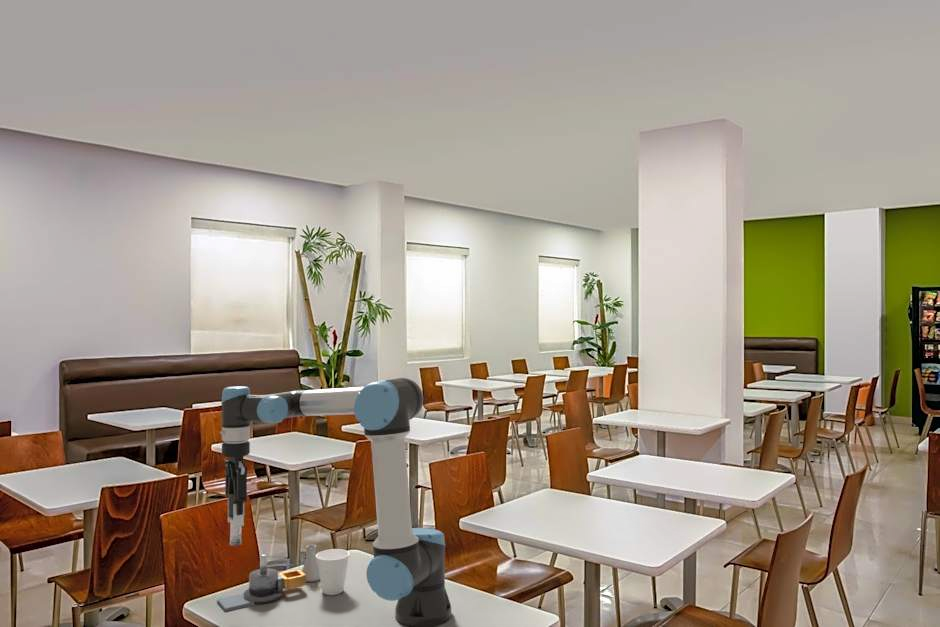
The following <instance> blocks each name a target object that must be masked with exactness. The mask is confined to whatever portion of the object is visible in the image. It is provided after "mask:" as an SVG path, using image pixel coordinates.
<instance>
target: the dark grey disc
mask: <svg viewBox="0 0 940 627" xmlns="http://www.w3.org/2000/svg"><path fill="white" fill-rule="evenodd" d="M243 593H244V598H245V599H246V600H248V601H254V605H267V604H272V603H275V602H278V601H279V600H281V599H282V598H283V597H284V589H283V588H282V589H278V590H277V591H276V592H275V593H273V594H270V595H266V596H254V595H251V594H250V593H249V588H248V589H246V590H245V591H244V592H243Z"/></svg>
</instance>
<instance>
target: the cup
mask: <svg viewBox="0 0 940 627" xmlns="http://www.w3.org/2000/svg"><path fill="white" fill-rule="evenodd" d="M350 555H351V553H350V551H349V550H346V549H339V548H332V549H331V548H330V549H325V550H322V551H319V552H317V553H316V558H317V563H318V569H319V574H320V580H319V581H320V587H321V592H322V593H323V594H324V595H327V596H337V595H339V594H341V593H343V591H344V588H345V581H346V577H347V575H346V574H347V569H348V563H349V558H350Z"/></svg>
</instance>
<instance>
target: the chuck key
mask: <svg viewBox="0 0 940 627" xmlns="http://www.w3.org/2000/svg"><path fill="white" fill-rule="evenodd" d="M232 502H235V499H234V493H231V494H229V496H228V498H227V518H228V517H231V520H230V522H229V523H230V524H229V526H230V528H229V529H230V530H229V531H230V532H229V546H233V547H234V546H235V547H237V546H240V545H242V526H238V527H233V504H232ZM244 509H245V502H244Z"/></svg>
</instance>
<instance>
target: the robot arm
mask: <svg viewBox="0 0 940 627" xmlns="http://www.w3.org/2000/svg"><path fill="white" fill-rule="evenodd" d="M221 394H222V395H221V403H220V404H221V422H222V423H221V431H220V432H219V433H220V435H221V441H223V442H222V444H221V455H222V456H223V457H224V458H228V459H227V460H226V459H225V460H224V468H225V470H224V471H225V474H224V475H225V479H224V481H225V482H224V484H225V485H224V486H225V490H224V491H225V492H224V494H225V496H226V498H227V499H228V496H229V494H231V493H234V499H235V502H232V504H233V527H238V526H241V527H242V526H243V527H244V526H245V508H244V502H248V501H247V500H248V498H247V497H248V494H247V493H248V486H247V485H248V483H247V482H248V468H249V467H248V466H246V462H245V461H244V457H245V456H249V455H250V452H251V449H250V448H251V447H250V445H251V444H250V443H251V442H250V441H249V440H250V439H251V425H250V424H251V422H253V423H254V422H255V423H263V424H270V425H271V424H279V423H282V421H283V420H285V419H288V418H297V417H310V416H311V417H312V416H315V417H316V416H317V417H318V416H338V415H339V416H341V415H342V416H343V415H345V416H346V415H354V416H355V419H356V420H357V422H359V423H360V424H359V425H360V426H361V427H362V428H363V432H364V437H365V438H366V439H367V440H369V441H370V444H371V445H370V446H371V457H372V459H371V460H372V470H373V484H374V494H375V495H374V496H375V508H376V523H377V535H378V536H377V537H376V538H375V540H374V541H373V542H372V550H373V552H372V553H373V558H372V559H371V560H370V561H369V563H368V565H367V568H366V580H367V583H368V585H369V587H370V589H371V590H372V592H374V593H375V594H376V595H377V596H378V597H379V598H381V599H382V600H384V601H385V600H386V601H389V602H391V601H393V602H394V601H397V602H396V605H395V609H394V610H395V613H394V614H395V616H394V618H395V619H396V621H397V622H398V623H399V624H401V625H403V626H408V627H435V626H439V625H441V624H445V623H446V622H448V621H449V620H450V619H451V617H452V605H451V601H450V599H449V596H448V592H447V589H446V586H445V585H446V584H445V580H446V579H445V578H446V574H445V573H446V571H445V570H446V567H445V566H446V561H445V560H446V557H445V556H446V555H445V554H446V542H445V535H444V533H443V532H442V531H440V530H439V529H434V528H429V527H428V528H427V527H425V528H424V527H413V528H412V515H411V514H412V513H411V512H412V511H411V504H410V502H411V501H410V500H411V499H410V490H409V476H408V464H407V450H406V437H407V436H408V435H409V434H410V432H411V427H410V424H411V422H410V421H411V420H412V419H415V417H416V416H417V415H419V414H420V412H421V411H422V408H423V406H424V405H423V404H424V394H423V391H422V389H421V388H420V386H419V384H417V382H415V381H414V380H413V379H409V378H408V377H407V378H405V377H398V378H392V379H385V380H382V379H381V380H377V381H374V382H370V383H368V384H366V385H364V386H357V387H355V386H354V387H340V388H339V387H337V388H324V389H322V388H321V389H306V390H305V389H296V390H295V389H294V390H291V391H286V392H279V393H278V392H277V393H271V394H270V393H269V394H251V390H250V387H248V386H244V385H241V386H238V385H237V386H228V387H225V388H223V390H222V393H221ZM230 520H231V517H228V516H227V523H230Z"/></svg>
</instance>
